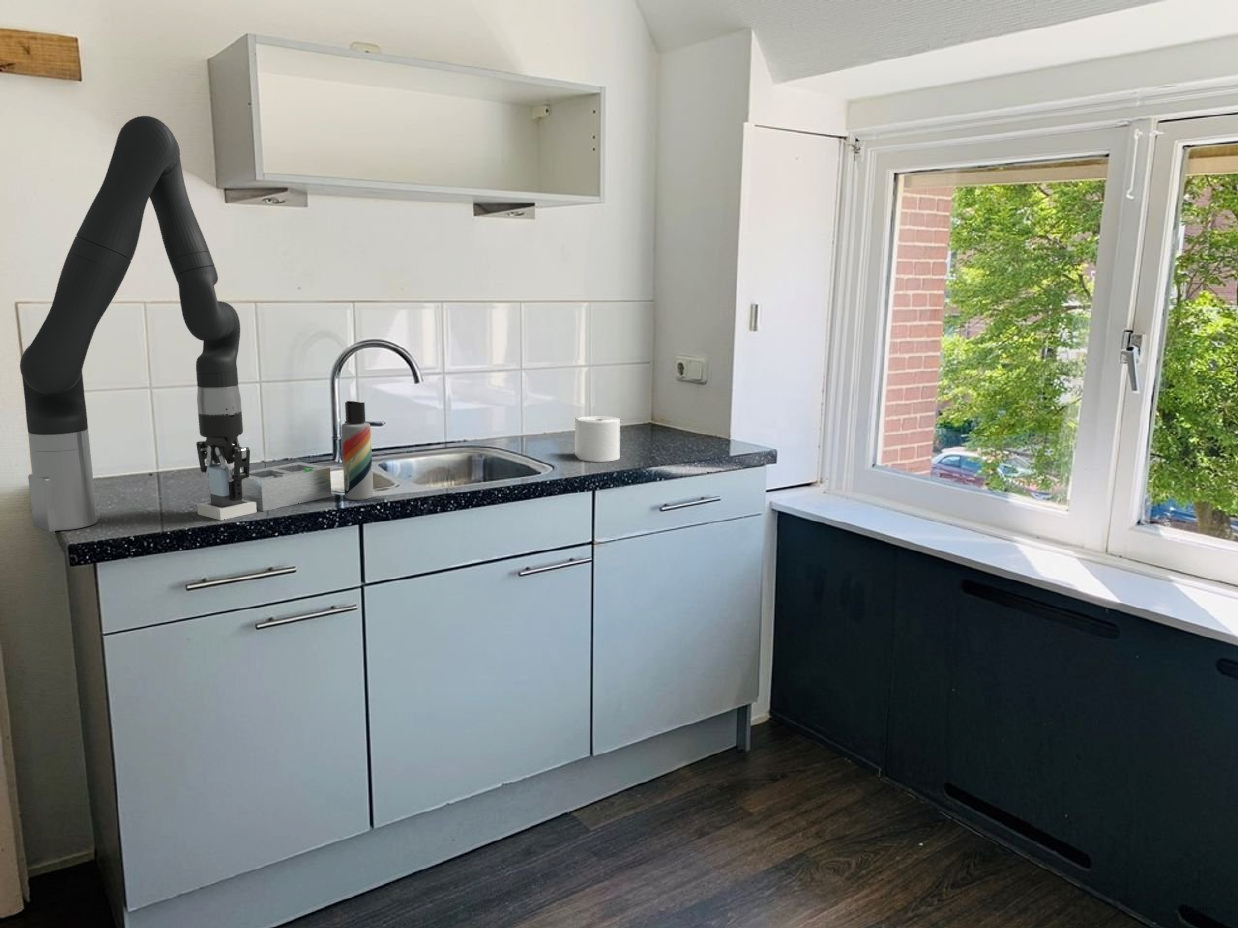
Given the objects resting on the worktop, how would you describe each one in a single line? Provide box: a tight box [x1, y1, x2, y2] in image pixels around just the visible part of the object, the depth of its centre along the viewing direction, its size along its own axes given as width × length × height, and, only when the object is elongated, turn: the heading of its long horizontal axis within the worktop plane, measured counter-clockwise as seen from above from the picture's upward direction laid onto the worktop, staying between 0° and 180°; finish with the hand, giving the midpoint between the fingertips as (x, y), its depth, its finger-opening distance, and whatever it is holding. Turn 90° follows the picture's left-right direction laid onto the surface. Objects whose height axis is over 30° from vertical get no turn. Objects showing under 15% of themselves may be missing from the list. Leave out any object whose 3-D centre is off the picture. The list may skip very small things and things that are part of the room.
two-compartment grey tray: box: [242, 461, 332, 512], centre depth 191 cm, size 16×10×6 cm, turn 145°
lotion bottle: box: [340, 400, 374, 501], centre depth 193 cm, size 6×6×20 cm
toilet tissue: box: [574, 415, 621, 463], centre depth 237 cm, size 11×12×10 cm
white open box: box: [196, 499, 258, 521], centre depth 180 cm, size 8×8×2 cm
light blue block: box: [208, 466, 242, 508], centre depth 179 cm, size 4×4×9 cm
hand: (226, 497), depth 180 cm, fingers open, 5 cm apart
